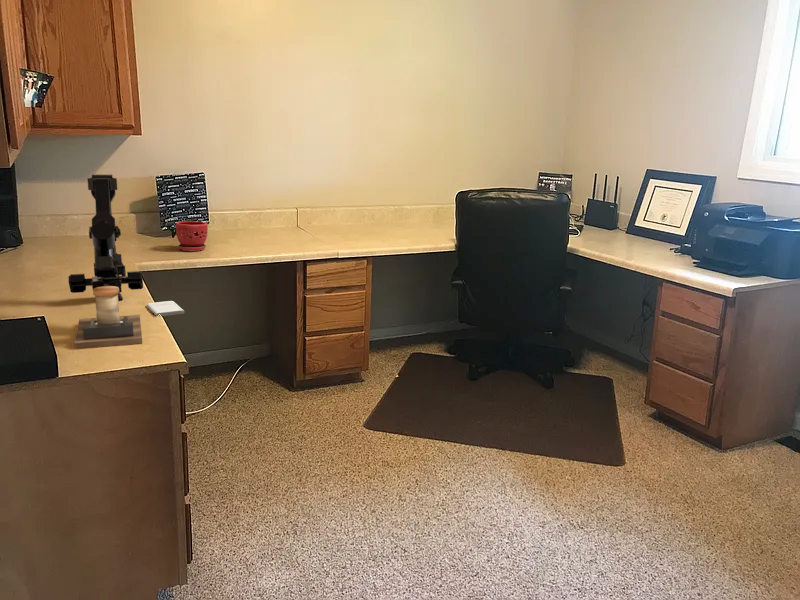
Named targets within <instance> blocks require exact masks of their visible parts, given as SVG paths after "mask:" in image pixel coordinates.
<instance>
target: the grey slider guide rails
mask: <svg viewBox="0 0 800 600" xmlns="http://www.w3.org/2000/svg"><path fill="white" fill-rule="evenodd" d="M123 316H124V323H110V324H96V325H95V318H96V317H90V318H91V322H90V325H83V337H84V340H89V339H102V338H115V337H128V336H134V333H133V322H128V316H129V315H123Z"/></svg>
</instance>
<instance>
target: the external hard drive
mask: <svg viewBox="0 0 800 600" xmlns="http://www.w3.org/2000/svg"><path fill="white" fill-rule="evenodd" d="M146 307H147V308H148V309H149V310H150V312H152V314H153V313H154V314H155V315H156V316H158V315H159V314H160V315H161V316H160V315H159V316H158V317H164V316H165V317H167V316H173V315H174V316H175V315H180V314H181V315H182V314H185V310H184V309H182V308H181V307H180V305H178V304H177V303H176V302H175V301H173V300H166V301H158V302H157V301H156V302H148V303H146ZM154 314H153V315H154ZM155 315H154V316H155ZM156 316H155V317H156Z"/></svg>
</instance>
